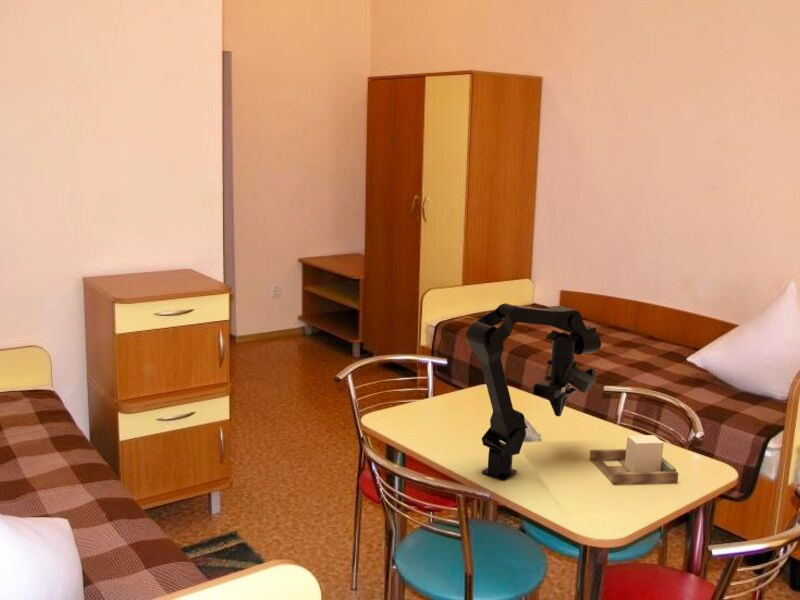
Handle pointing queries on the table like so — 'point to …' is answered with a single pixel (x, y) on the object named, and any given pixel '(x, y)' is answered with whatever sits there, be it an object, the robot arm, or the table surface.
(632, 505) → the table surface
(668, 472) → the tray
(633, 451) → the cream block
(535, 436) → the stone
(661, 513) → the table surface
